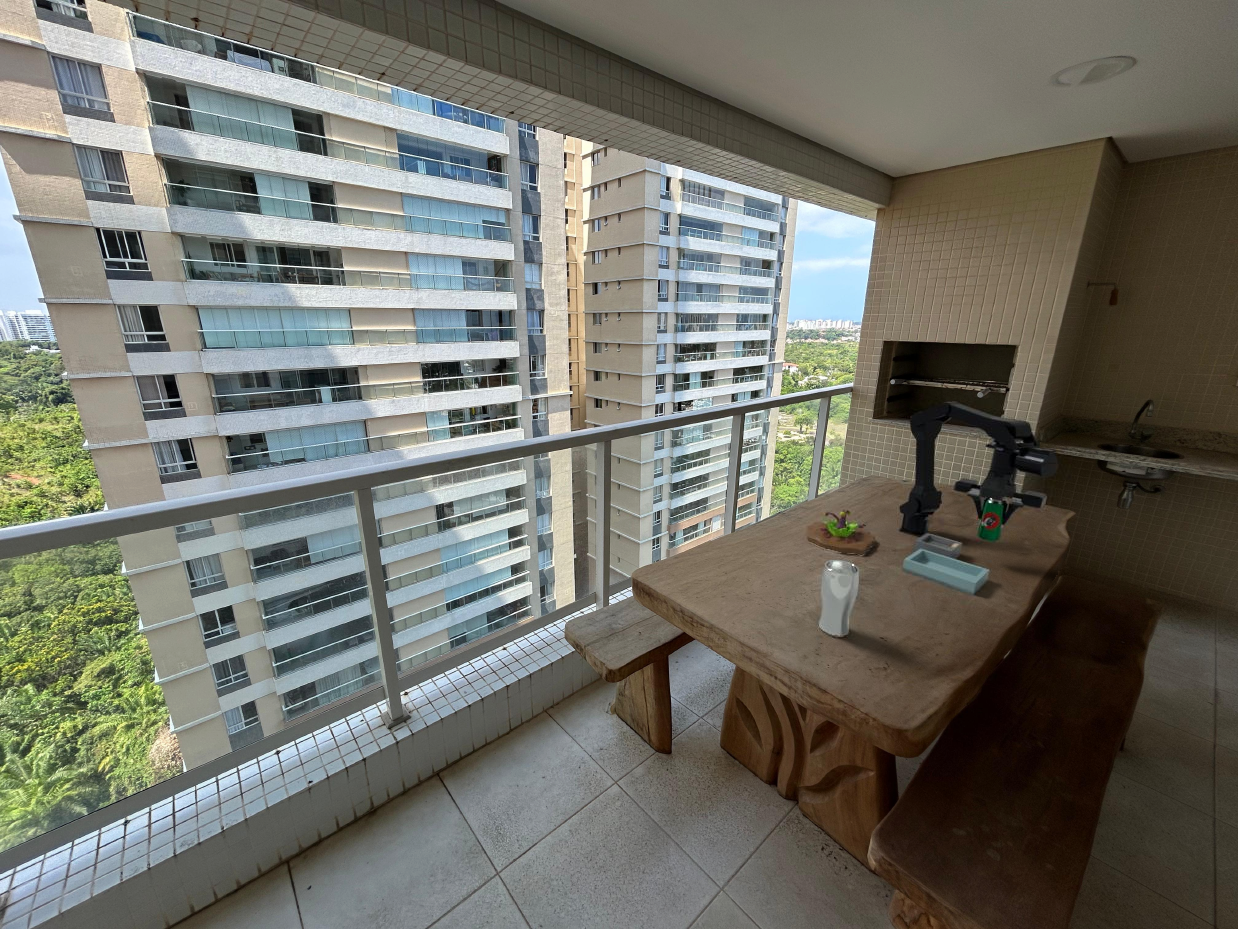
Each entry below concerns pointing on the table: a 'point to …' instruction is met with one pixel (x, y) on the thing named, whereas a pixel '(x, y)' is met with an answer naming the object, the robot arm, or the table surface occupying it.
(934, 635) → the table surface
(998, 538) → the soda can
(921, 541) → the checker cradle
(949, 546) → the plate
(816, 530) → the plant
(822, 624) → the beer glass
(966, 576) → the trough
